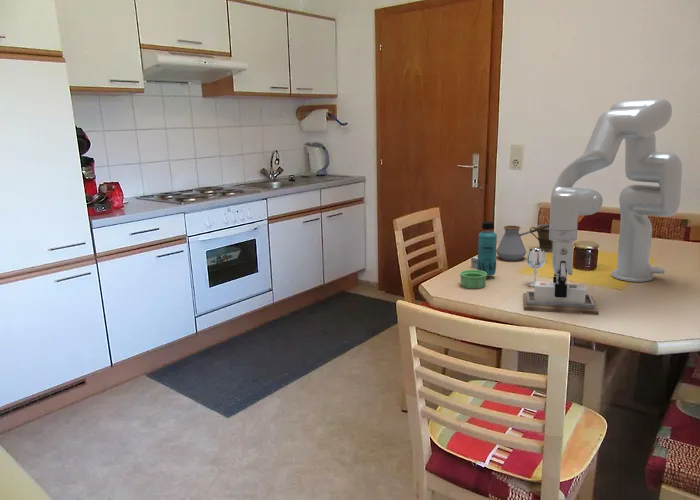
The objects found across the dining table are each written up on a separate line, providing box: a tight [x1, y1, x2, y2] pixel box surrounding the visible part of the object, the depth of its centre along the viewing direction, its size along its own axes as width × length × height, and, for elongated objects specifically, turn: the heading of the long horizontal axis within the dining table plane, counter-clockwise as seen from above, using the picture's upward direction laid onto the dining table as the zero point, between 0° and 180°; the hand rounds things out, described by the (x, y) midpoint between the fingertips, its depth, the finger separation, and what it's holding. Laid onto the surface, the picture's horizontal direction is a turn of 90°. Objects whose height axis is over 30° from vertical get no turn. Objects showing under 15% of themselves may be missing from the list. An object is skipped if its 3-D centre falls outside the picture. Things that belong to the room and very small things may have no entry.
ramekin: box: [459, 269, 488, 290], centre depth 176 cm, size 9×9×4 cm
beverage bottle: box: [477, 221, 498, 277], centre depth 183 cm, size 6×7×20 cm
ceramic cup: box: [529, 223, 553, 253], centre depth 218 cm, size 13×10×10 cm
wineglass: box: [526, 247, 546, 287], centre depth 173 cm, size 6×6×12 cm
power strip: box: [533, 280, 587, 304], centre depth 155 cm, size 14×5×5 cm, turn 65°
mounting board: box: [522, 290, 600, 316], centre depth 155 cm, size 20×13×2 cm, turn 73°
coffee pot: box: [496, 224, 549, 262], centre depth 204 cm, size 21×12×15 cm, turn 56°
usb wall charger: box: [470, 255, 478, 270], centre depth 198 cm, size 4×7×4 cm, turn 119°
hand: (559, 292), depth 155 cm, fingers open, 6 cm apart
